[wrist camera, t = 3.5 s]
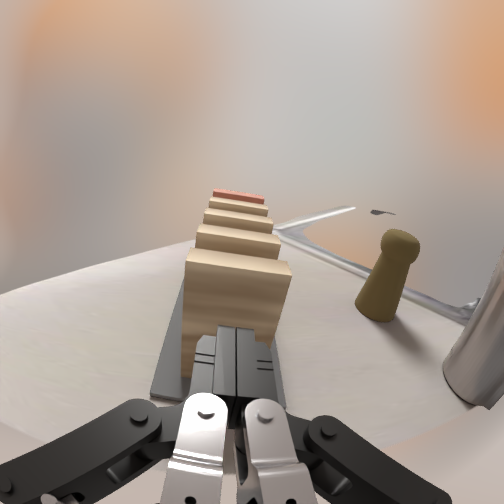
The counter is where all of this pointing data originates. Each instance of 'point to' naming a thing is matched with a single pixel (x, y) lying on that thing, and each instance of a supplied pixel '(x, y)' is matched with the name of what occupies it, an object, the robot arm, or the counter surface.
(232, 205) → the domino
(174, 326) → the mat
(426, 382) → the counter surface
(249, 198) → the domino
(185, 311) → the domino
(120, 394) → the counter surface
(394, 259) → the cork
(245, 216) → the domino
